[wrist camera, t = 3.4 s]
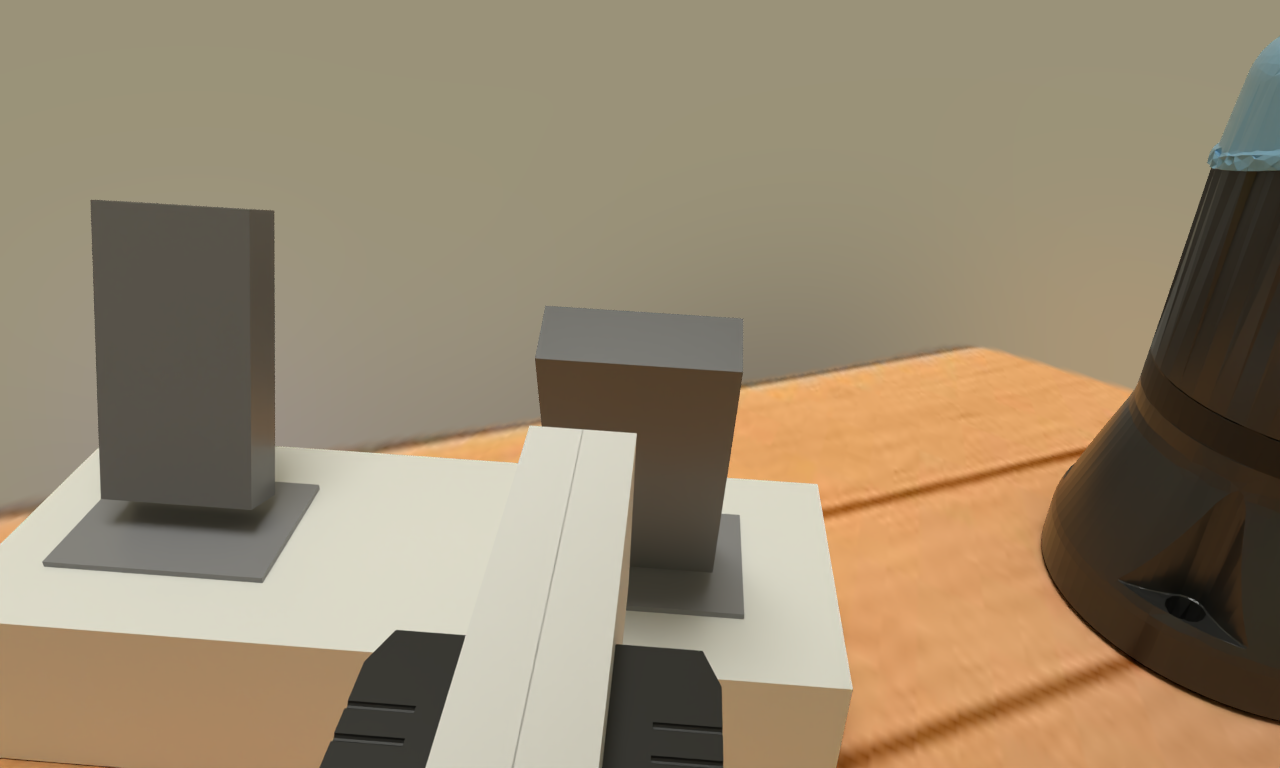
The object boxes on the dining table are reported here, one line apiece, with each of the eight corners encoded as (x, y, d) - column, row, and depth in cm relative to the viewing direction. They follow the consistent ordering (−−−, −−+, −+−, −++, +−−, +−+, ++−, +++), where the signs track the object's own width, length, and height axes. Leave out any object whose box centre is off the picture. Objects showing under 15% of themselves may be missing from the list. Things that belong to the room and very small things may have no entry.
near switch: (713, 524, 31) (743, 318, 24) (712, 572, 30) (742, 372, 23) (562, 513, 31) (545, 305, 24) (555, 560, 30) (534, 358, 23)
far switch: (275, 494, 33) (274, 210, 31) (251, 510, 31) (249, 209, 29) (132, 484, 33) (123, 201, 31) (100, 498, 31) (90, 200, 29)
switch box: (797, 605, 39) (819, 473, 35) (823, 825, 30) (855, 677, 27) (145, 556, 39) (108, 423, 36) (-14, 756, 31) (-81, 604, 28)
